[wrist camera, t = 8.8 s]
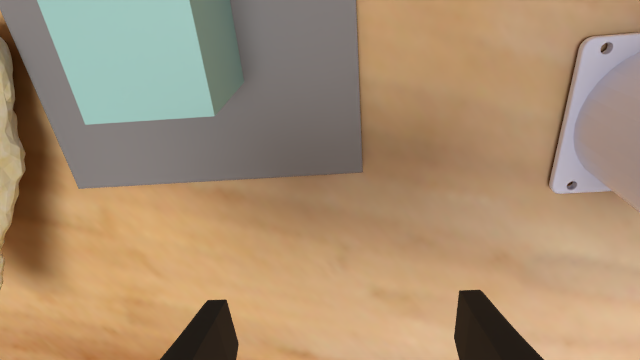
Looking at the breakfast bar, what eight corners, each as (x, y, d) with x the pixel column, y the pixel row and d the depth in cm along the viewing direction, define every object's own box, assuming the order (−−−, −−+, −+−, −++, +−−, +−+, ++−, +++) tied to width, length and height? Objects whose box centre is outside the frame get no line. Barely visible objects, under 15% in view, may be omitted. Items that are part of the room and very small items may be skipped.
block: (223, -37, 16) (180, -41, 12) (244, 81, 19) (214, 116, 14) (109, -27, 17) (26, -25, 12) (144, 89, 19) (85, 124, 15)
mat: (346, -239, 14) (346, -247, 13) (362, 167, 21) (362, 172, 21) (-71, -180, 15) (-86, -186, 14) (84, 183, 22) (78, 188, 22)
